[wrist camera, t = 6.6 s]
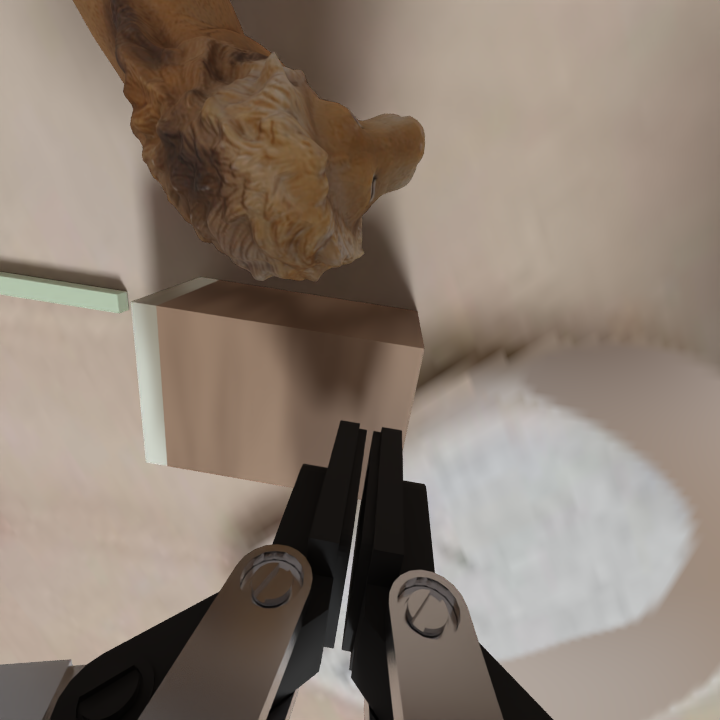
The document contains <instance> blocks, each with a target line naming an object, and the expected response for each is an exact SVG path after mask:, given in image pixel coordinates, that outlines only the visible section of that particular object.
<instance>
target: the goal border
mask: <svg viewBox="0 0 720 720" xmlns="http://www.w3.org/2000/svg"><path fill="white" fill-rule="evenodd" d="M0 294H1V295H7V296H14V297H20V298H26V299H32V300H39V301H45V302H51V303H58V304H64V305H70V306H76V307H83V308H89V309H95V310H101V311H108V312H114V313H122V312H124V311H127V310H129V308H128V298H127V292H126V291H120V290H114V289H107V288H101V287H94V286H88V285H82V284H75V283H69V282H63V281H56V280H50V279H44V278H37V277H31V276H24V275H18V274H12V273H5V272H0Z"/></svg>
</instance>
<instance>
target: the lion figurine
mask: <svg viewBox="0 0 720 720" xmlns="http://www.w3.org/2000/svg"><path fill="white" fill-rule="evenodd" d="M73 2H74V4H75V5H76V7H77V9H78V11H79V12H80V14H81V16H82V17H83V19H84V21H85V23H86V25H87V26H88V28H89V30H90V32H91V33H92V35H93V37H94V38H95V40H96V41H97V43H98V44H99V46H100V48H101V49H102V51H103V52H104V54H105V55H106V57H107V58H108V60H109V61H110V63H111V64H112V66H113V67H114V69H115V70H116V72H117V73H118V75H119V76H120V78H121V80H122V81H123V83H124V90H123V92H124V94H125V97H126V98H127V99H128V101H129V102H130V103H131V104H132V106H133V113H132V117H131V123H130V125H131V129H132V131H133V134H134V135H135V136H136V137H137V138H138V139H139V140H140V142H141V144H142V146H143V151H142V158H143V161H144V162H145V163H146V164H147V165H148V168H149V170H150V172H151V174H152V176H153V177H154V178H155V179H156V180H157V181H158V182H159V183H160V184H161V185H162V188H163V190H164V192H165V193H166V194H167V198H168V201H169V202H170V203H171V204H172V205H174V207H175V208H176V209H177V210H178V211H179V212H180V213H181V215H182V216H183V218H184V220H186V221H187V222H188V223H190V224H192V226H193V228H194V230H195V232H196V234H197V236H198V238H199V239H201V240H202V241H203V242H207V243H213V244H214V245H215V247H216V249H217V250H218V251H220V252H222V253H224V254H226V255H227V256H229V257H230V258H231V260H232V261H233V262H234V263H235V264H236V265H237V266H239V267H241V268H244V269H246V270H248V271H250V272H251V275H252V276H253V277H254V278H255V279H256V280H259V281H264V280H266V279H268V278H270V277H271V276H276V277H279V278H282V279H292V280H296V281H302V280H305V279H308V280H311V281H314V282H317V281H318V280H319V278H320V276H321V275H322V274H323V273H324V272H325V271H326V270H328V269H330V268H332V267H333V268H334V267H340V266H341V265H342V264H343V265H345V264H350V263H352V262H353V261H354V260H355V259H357V258H360V257H361V256H362V255H363V254H364V253H365V252H364V251H363V249H362V245H361V244H362V215H363V214H364V213H365V212H366V211H367V210H368V209H369V208H370V207H371V205H372V204H373V203H374V202H375V201H376V200H377V199H378V198H379V197H380V196H381V195H383V194H385V193H388V192H391V191H395V190H398V189H400V188H402V187H404V186H405V185H407V184H408V183H409V181H410V180H411V178H412V176H413V175H414V173H415V170H416V166H417V164H418V163H419V162H420V160H421V159H422V156H423V154H424V147H425V133H424V130H423V127H422V126H421V124H420V123H419V122H418V121H417V120H416V119H414V118H413V117H411V116H406V117H401V116H399V115H395V114H382V115H379V116H376V117H374V118H371V119H368V120H364V121H359V120H358V119H357V118H356V117H355V116H354V115H353V114H352V113H351V112H350V111H349V110H348V109H347V108H346V107H344V106H342V105H341V104H339V103H335V102H330V101H326V100H322V99H319V98H318V96H317V94H316V93H315V92H314V91H313V90H312V88H311V87H310V86H309V85H308V84H307V81H306V78H305V75H304V73H303V71H302V70H298V69H296V70H292V69H290V68H288V67H285V66H284V65H283V63H282V62H281V61H280V60H279V59H278V57H277V55H276V53H275V52H272V53H270V52H269V51H268V50H266V49H265V48H264V47H263V46H261V45H260V44H259V43H257V42H256V41H254V40H252V39H251V38H249V37H246V36H244V33H243V30H242V27H241V25H240V23H239V20H238V18H237V16H236V13H235V11H234V9H233V6H232V5H231V3H230V1H229V0H73Z"/></svg>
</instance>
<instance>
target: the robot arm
mask: <svg viewBox="0 0 720 720" xmlns="http://www.w3.org/2000/svg"><path fill="white" fill-rule="evenodd" d="M359 428H360V423H355V422H349V421H343V420H341V421H340V424H339V428H338V431H337V435H336V439H335V442H334V446H333V450H332V454H331V457H330V461H329V465H328V468H327V467H321V466H315V465H309V464H303V465H302V467H301V469H300V472H299V474H298V477H297V480H296V482H295V485H294V488H293V491H292V493H291V496H290V499H289V501H288V504H287V507H286V509H285V512H284V515H283V517H282V520H281V523H280V525H279V528H278V531H277V533H276V536H275V539H274V542H273V544H272V545H265V546H263V547H260V548H257V549H254V550H253V551H251V552H250V553H248V554H247V555H245V556H244V557H243V558H242V560H241V561H240V562H239V563H238V564H237V565H236V567H235V568H234V570H233V572H232V573H231V575H230V576H229V578H228V579H227V581H226V583H225V584H224V586H223V587H222V589H221V590H220V592H218V593H216V594H214V595H212V596H210V597H208V598H207V599H205V600H203V601H201V602H199V603H197V604H195V605H194V606H192V607H190V608H188V609H186V610H184V611H182V612H180V613H179V614H177V615H175V616H173V617H171V618H169V619H167V620H165V621H164V622H162V623H160V624H158V625H156V626H154V627H152V628H150V629H149V630H147V631H145V632H143V633H141V634H139V635H137V636H135V637H134V638H132V639H130V640H128V641H126V642H124V643H122V644H121V645H119V646H117V647H115V648H113V649H111V650H109V651H107V652H106V653H104V654H102V655H101V656H99V657H98V658H96V659H95V660H93V661H92V662H90V663H89V664H87V665H77V666H73V665H72V661H71V659H70V660H57V661H43V662H30V663H17V664H3V665H0V720H289V719H290V716H291V713H292V710H293V707H294V704H295V701H296V698H297V695H298V690H299V687H300V686H301V685H303V684H304V683H305V682H306V681H308V680H309V679H310V678H311V677H313V676H314V675H315V674H316V673H318V672H319V668H320V665H321V659H322V653H323V647H329V648H334V643H335V637H336V631H337V625H338V620H339V614H340V608H341V602H342V596H343V590H344V584H345V578H346V573H347V567H348V561H349V555H350V549H351V542H352V535H353V528H354V521H355V514H356V507H357V499H358V492H359V485H360V478H361V471H362V463H363V456H364V449H365V442H366V435H367V430H365V429H359ZM342 650H345V651H350V652H351V658H350V668H349V670H352V674H351V678H352V680H353V681H354V683H355V684H356V686H357V687H358V689H359V690H360V692H361V693H362V695H363V696H364V698H365V699H364V720H553V719H552V718H551V717H550V716H549V715H548V714H547V713H546V712H545V711H544V710H543V708H541V706H540V705H539V704H538V703H537V702H536V701H534V699H533V698H532V697H531V696H530V695H529V694H528V693H527V692H526V691H525V690H524V689H523V688H522V687H521V686H520V685H519V684H518V683H517V682H516V680H515V679H514V678H513V677H512V676H511V675H510V674H509V673H508V672H507V671H506V670H505V669H504V668H503V667H502V666H501V665H500V664H499V663H498V662H497V661H496V660H495V659H494V658H493V657H492V656H491V655H490V654H489V652H488V651H487V650H486V649H485V648H484V647H483V646H482V645H481V644H480V643H479V642H478V638H477V635H476V632H475V629H474V626H473V623H472V620H471V617H470V613H469V610H468V607H467V605H466V603H465V601H464V599H463V597H462V595H461V594H460V592H459V591H458V590H457V589H456V587H455V586H454V585H453V584H452V583H450V582H449V581H448V580H446V579H445V578H444V577H442V576H440V575H438V574H436V573H435V570H434V560H433V550H432V540H431V530H430V521H429V511H428V501H427V491H426V486H425V484H421V483H415V482H409V481H403V456H402V430H398V429H392V428H386V427H382V429H381V432H377V431H373V436H372V441H371V447H370V453H369V459H368V464H367V470H366V476H365V482H364V488H363V493H362V499H361V505H360V511H359V518H358V525H357V533H356V541H355V549H354V557H353V564H352V572H351V580H350V588H349V596H348V604H347V611H346V619H345V627H344V635H343V643H342Z"/></svg>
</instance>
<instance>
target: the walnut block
mask: <svg viewBox="0 0 720 720" xmlns="http://www.w3.org/2000/svg"><path fill="white" fill-rule="evenodd" d="M131 310H132V320H133V331H134V341H135V352H136V362H137V373H138V383H139V394H140V404H141V415H142V425H143V436H144V446H145V457H146V462H147V463H153V464H159V465H164V466H170V467H176V468H182V469H187V470H193V471H199V472H205V473H210V474H216V475H222V476H227V477H233V478H239V479H245V480H250V481H256V482H262V483H268V484H273V485H279V486H285V487H291V488H294V485H295V482H296V480H297V477H298V474H299V472H300V469H301V467H302V465H303V464H309V465H315V466H321V467H327V468H328V465H329V461H330V457H331V454H332V450H333V446H334V442H335V439H336V435H337V431H338V428H339V424H340V421H341V420H343V421H349V422H355V423H360V428H359V429H365V430H367V435H366V442H365V449H364V456H363V463H362V471H361V478H360V485H359V492H358V499H359V500H361V499H362V493H363V488H364V482H365V476H366V470H367V464H368V459H369V453H370V447H371V441H372V436H373V431H377V432H381V429H382V427H386V428H392V429H398V430H402V451H403V446H404V442H405V437H406V432H407V428H408V423H409V418H410V414H411V409H412V404H413V400H414V395H415V391H416V386H417V381H418V377H419V372H420V367H421V363H422V358H423V353H424V344H423V338H422V333H421V328H420V322H419V317H418V312H417V311H414V310H408V309H401V308H395V307H388V306H382V305H376V304H369V303H363V302H357V301H350V300H344V299H338V298H331V297H325V296H318V295H312V294H306V293H299V292H293V291H287V290H280V289H274V288H268V287H261V286H255V285H249V284H242V283H236V282H229V281H223V280H217V279H210V278H204V277H199V278H196V279H194V280H191V281H188V282H185V283H182V284H179V285H177V286H174V287H171V288H168V289H165V290H163V291H160V292H157V293H154V294H151V295H148V296H146V297H143V298H140V299H137V300H134V301H131Z"/></svg>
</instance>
